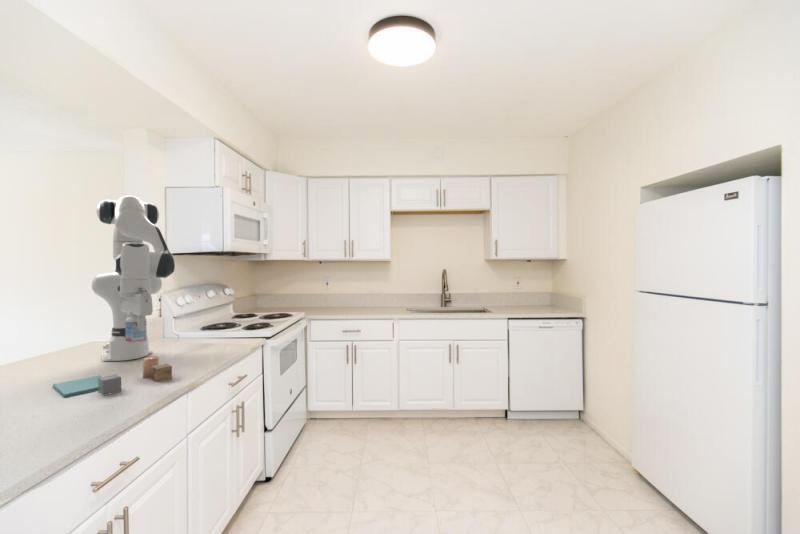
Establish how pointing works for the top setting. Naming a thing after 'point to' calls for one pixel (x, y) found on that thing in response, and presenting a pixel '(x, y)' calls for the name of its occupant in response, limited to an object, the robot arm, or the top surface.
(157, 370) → the walnut block
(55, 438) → the top surface
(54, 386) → the teal board
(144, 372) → the peach capsule cylinder
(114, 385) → the charcoal block
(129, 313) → the pill bottle
